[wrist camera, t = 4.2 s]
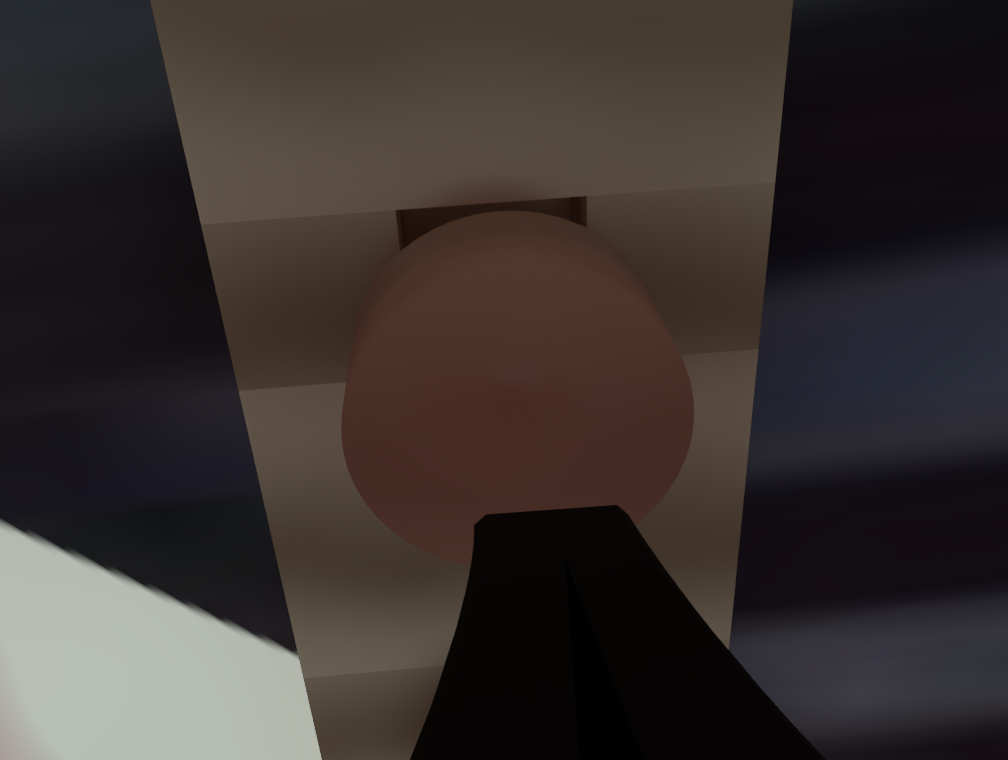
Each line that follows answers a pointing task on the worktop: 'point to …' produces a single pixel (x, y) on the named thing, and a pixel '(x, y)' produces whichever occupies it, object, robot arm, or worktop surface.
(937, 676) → the worktop surface
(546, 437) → the pot knob
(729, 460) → the knob bar
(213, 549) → the worktop surface
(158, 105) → the worktop surface
